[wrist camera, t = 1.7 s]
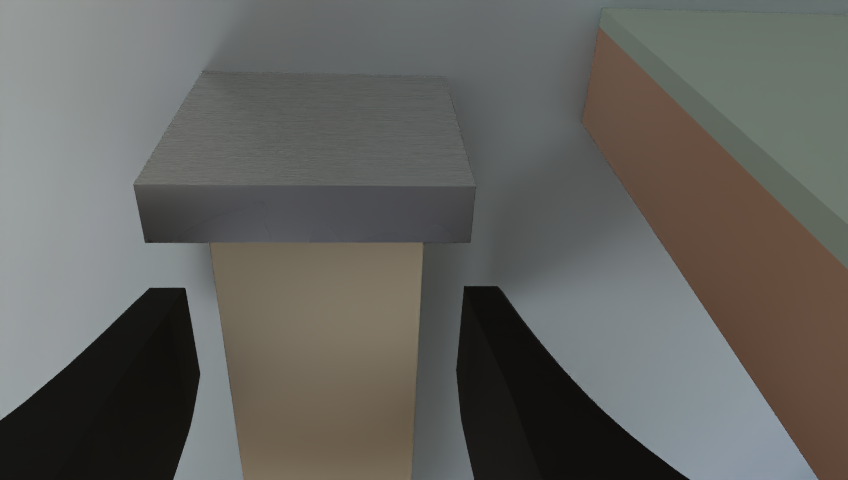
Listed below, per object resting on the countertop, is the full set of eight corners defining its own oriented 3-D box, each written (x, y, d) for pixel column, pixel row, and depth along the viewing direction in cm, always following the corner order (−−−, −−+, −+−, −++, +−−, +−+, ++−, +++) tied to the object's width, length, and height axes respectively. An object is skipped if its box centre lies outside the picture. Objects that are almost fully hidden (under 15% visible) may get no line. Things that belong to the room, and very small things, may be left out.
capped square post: (418, 490, 17) (431, 655, 14) (258, 495, 17) (231, 665, 14) (444, 75, 12) (476, 186, 8) (202, 70, 11) (133, 184, 8)
